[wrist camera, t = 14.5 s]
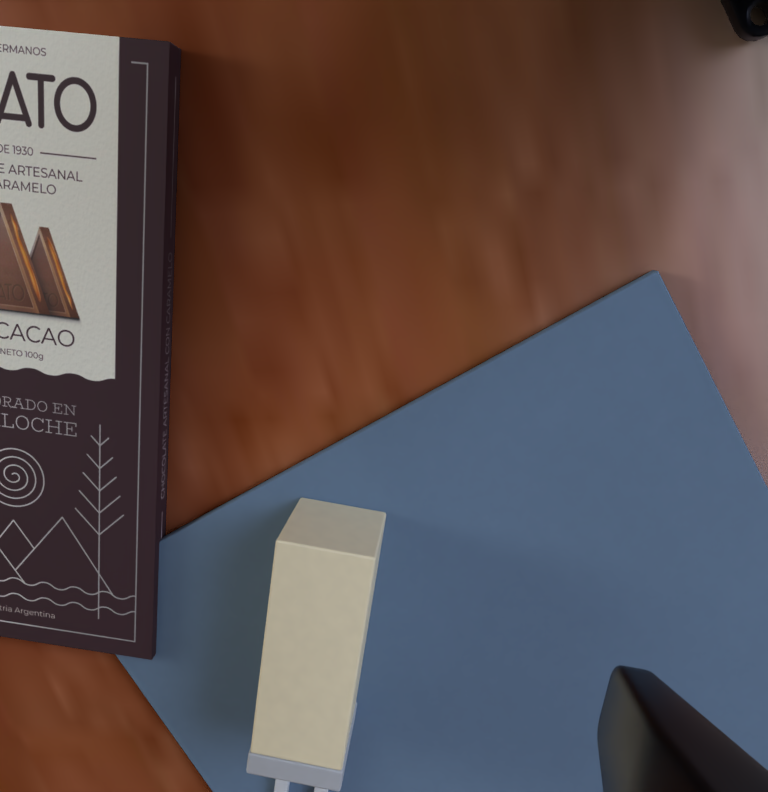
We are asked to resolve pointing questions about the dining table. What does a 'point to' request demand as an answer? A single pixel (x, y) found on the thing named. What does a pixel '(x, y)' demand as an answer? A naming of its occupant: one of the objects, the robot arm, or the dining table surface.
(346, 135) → the dining table surface
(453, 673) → the placemat
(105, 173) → the chocolate bar
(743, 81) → the dining table surface
